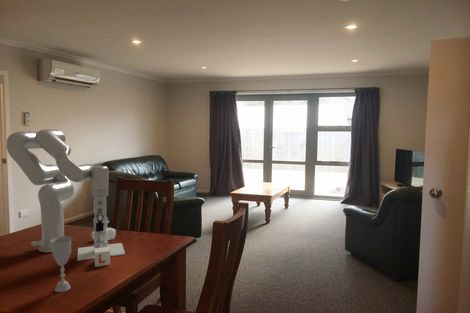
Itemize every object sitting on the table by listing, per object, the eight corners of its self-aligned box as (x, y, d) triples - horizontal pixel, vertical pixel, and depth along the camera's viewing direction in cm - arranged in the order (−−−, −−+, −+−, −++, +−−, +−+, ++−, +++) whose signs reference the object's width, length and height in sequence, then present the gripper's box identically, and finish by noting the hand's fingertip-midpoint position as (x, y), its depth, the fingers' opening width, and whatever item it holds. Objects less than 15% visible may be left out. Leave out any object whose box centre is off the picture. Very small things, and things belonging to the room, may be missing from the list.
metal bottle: (94, 253, 153) (93, 210, 151) (92, 249, 159) (92, 207, 157) (109, 251, 156) (108, 209, 154) (107, 247, 162) (106, 206, 160)
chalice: (57, 284, 123) (56, 236, 122) (76, 283, 123) (75, 236, 122) (48, 293, 116) (46, 242, 114) (68, 293, 116) (67, 242, 115)
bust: (115, 242, 178) (113, 222, 184) (117, 236, 173) (115, 216, 178) (91, 245, 173) (90, 225, 178) (92, 239, 167) (90, 219, 173)
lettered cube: (95, 267, 139) (94, 253, 139) (94, 261, 145) (94, 248, 145) (110, 265, 142) (110, 251, 141) (109, 259, 147) (109, 246, 147)
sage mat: (77, 260, 146) (77, 259, 146) (78, 249, 160) (78, 247, 160) (125, 254, 154) (125, 253, 154) (121, 244, 168) (121, 242, 168)
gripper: (109, 195, 149) (108, 232, 150) (107, 188, 165) (106, 222, 166) (91, 196, 146) (90, 234, 147) (90, 189, 162) (90, 224, 163)
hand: (99, 228), depth 156 cm, fingers open, 9 cm apart
